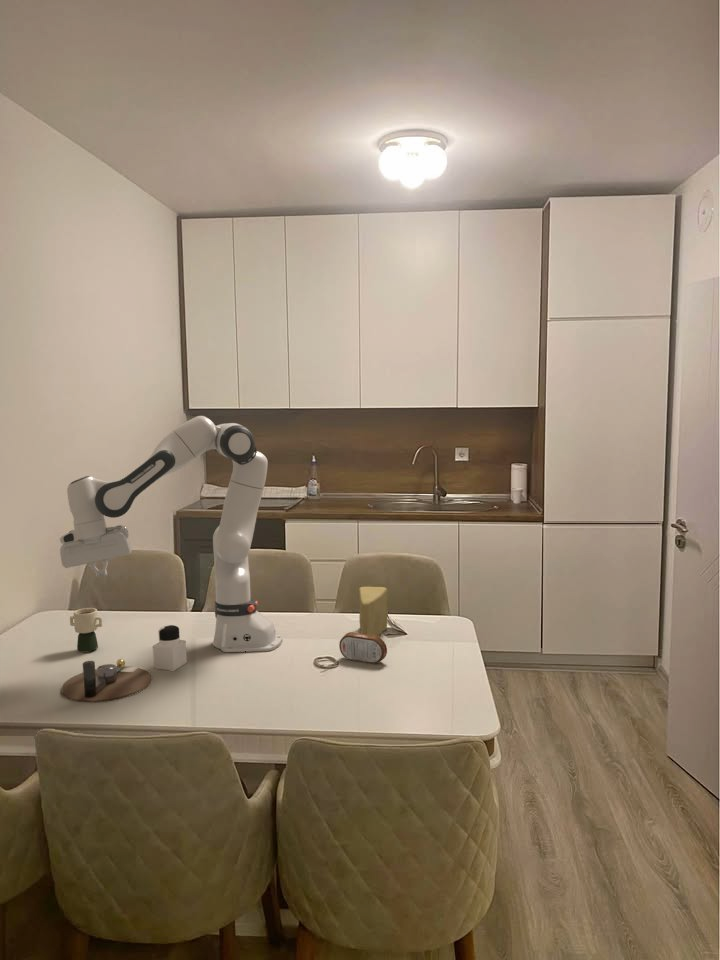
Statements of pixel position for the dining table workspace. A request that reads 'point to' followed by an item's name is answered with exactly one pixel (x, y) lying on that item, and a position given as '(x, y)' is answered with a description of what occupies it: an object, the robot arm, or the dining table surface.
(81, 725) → the dining table surface
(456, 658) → the dining table surface
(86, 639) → the character mug
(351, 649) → the tin
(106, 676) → the crank lever
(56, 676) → the dining table surface
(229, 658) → the dining table surface
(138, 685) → the stand
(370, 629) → the cheese
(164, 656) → the medicine bottle
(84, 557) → the robot arm
